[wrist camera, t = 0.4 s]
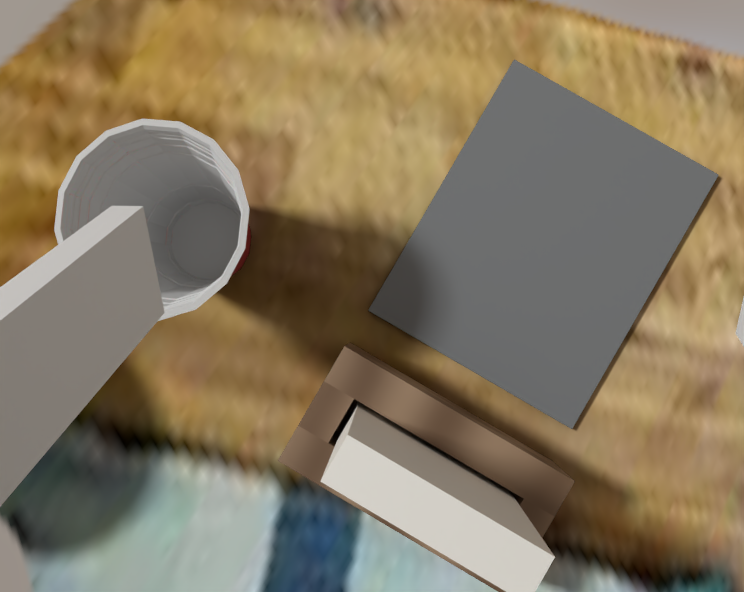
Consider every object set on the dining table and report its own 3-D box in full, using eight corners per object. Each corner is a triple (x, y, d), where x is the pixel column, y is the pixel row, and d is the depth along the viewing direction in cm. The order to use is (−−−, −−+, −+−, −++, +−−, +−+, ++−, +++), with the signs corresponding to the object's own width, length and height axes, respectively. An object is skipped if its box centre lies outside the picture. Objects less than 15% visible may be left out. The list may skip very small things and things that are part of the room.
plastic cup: (123, 171, 49) (38, 126, 37) (276, 157, 49) (240, 106, 37) (136, 326, 49) (54, 329, 37) (290, 312, 49) (258, 311, 37)
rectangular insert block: (502, 480, 47) (555, 557, 32) (483, 512, 47) (527, 604, 32) (360, 396, 48) (347, 434, 33) (341, 428, 48) (320, 481, 33)
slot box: (551, 460, 48) (575, 481, 42) (493, 562, 48) (508, 597, 42) (349, 342, 49) (344, 346, 43) (291, 442, 49) (277, 460, 43)
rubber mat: (715, 176, 48) (718, 174, 48) (570, 428, 48) (571, 429, 48) (513, 61, 49) (514, 59, 49) (368, 310, 49) (368, 310, 48)
